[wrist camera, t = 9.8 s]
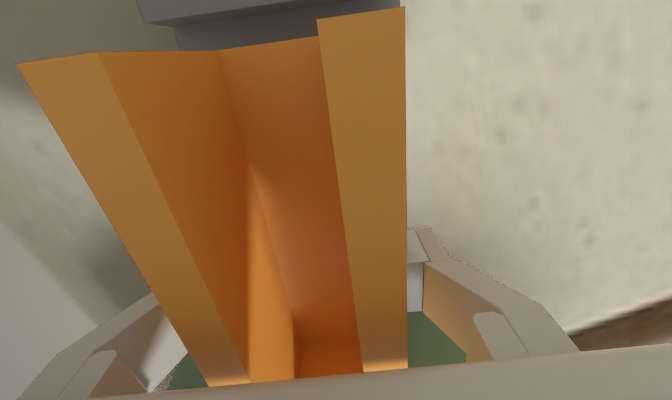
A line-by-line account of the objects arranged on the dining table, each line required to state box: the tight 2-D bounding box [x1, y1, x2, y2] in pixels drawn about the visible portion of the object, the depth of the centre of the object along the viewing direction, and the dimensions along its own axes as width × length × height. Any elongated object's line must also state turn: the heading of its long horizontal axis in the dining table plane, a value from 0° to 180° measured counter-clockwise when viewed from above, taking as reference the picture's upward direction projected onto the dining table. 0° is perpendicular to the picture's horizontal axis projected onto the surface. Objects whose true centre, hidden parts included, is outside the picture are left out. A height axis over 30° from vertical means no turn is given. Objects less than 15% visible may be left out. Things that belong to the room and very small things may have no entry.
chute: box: [16, 7, 408, 387], centre depth 8 cm, size 5×12×5 cm, turn 7°
